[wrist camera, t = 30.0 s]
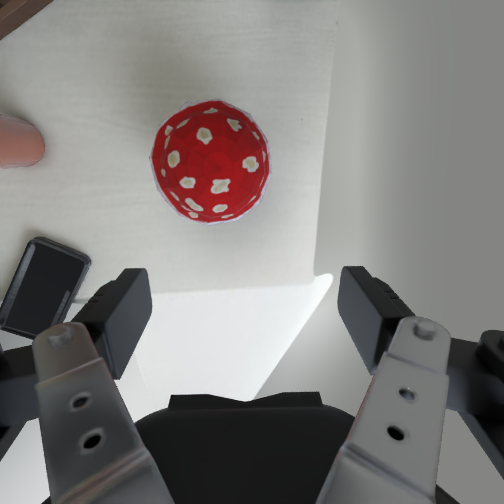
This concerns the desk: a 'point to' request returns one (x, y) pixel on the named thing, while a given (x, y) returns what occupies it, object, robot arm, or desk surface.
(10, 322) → the phone
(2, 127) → the pencil cup
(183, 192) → the decorative mushroom
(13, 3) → the tray
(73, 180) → the desk surface
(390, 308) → the robot arm
